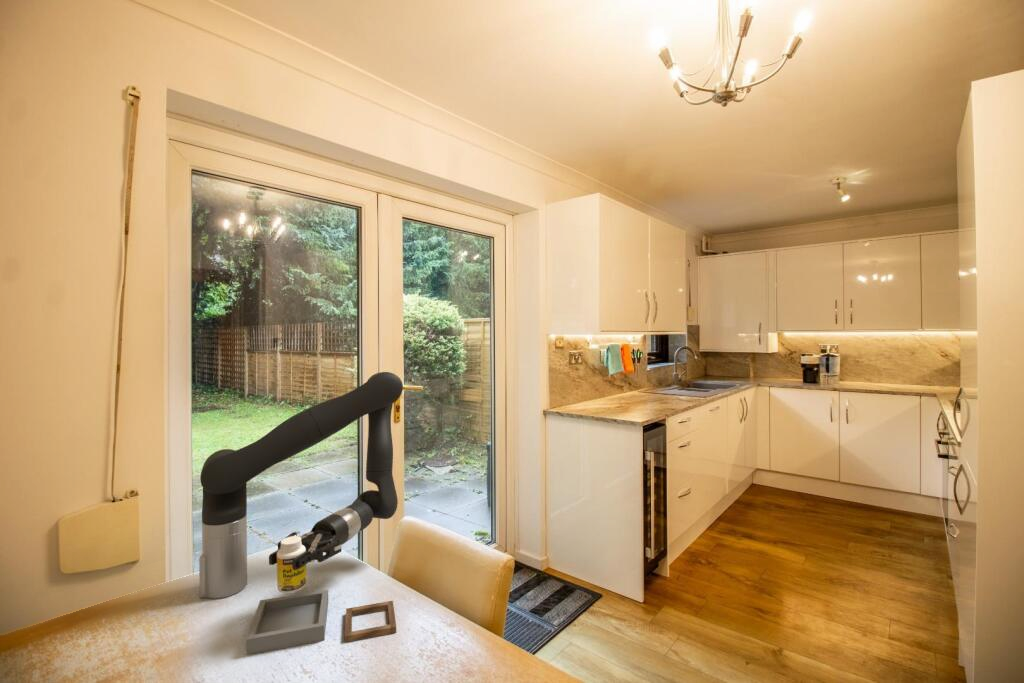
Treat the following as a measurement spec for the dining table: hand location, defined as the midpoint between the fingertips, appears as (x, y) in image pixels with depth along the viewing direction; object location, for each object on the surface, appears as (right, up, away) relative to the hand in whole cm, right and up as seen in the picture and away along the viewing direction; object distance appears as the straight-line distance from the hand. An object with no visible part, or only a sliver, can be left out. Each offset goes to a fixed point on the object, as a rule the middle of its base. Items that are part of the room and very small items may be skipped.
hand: (282, 562), depth 97 cm
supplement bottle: (+1, -7, +3) cm, 7 cm away
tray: (+1, -15, +2) cm, 15 cm away
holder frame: (+17, -15, +4) cm, 23 cm away
